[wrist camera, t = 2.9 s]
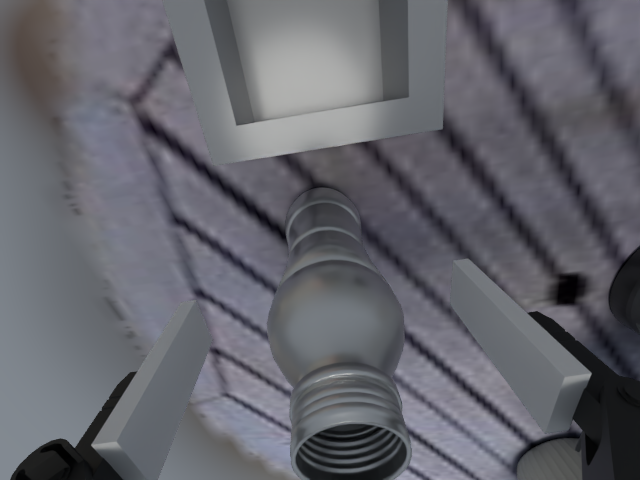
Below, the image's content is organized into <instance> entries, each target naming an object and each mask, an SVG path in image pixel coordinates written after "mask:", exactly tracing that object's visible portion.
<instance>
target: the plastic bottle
mask: <svg viewBox="0 0 640 480" xmlns="http://www.w3.org/2000/svg"><path fill="white" fill-rule="evenodd" d="M285 230H286V237H287V241H288V245H289V256H288V261H287V265H286V269H285V272H284V275H283V277H282V280H281V282H280V284H279V287H278V289H277V292H276V294H275V296H274V299H273V301H272V305H271V308H270V312H269V316H268V321H267V331H268V338H269V343H270V348H271V352H272V355H273V358H274V360H275V362H276V364H277V365H278V367H279V369H280V370H281V372H282V373H283V375H284V376H285V378H286V380H287V381H288V382H289V384H290V385H291V386H292V387H293V388H294V389H293V391H292V394H291V398H290V420H291V423H292V429H291V445H290V457H291V465H292V468H293V471H294V472H295V473H296V475H297V476H298V477H299V478H300V479H301V480H394V479H395V478H397V477H398V476H399V475H400V474H401V473H402V472H403V471H404V470H405V469H406V468H407V466H408V465H409V463H410V460H411V457H412V449H411V441H410V438H409V435H408V432H407V428H406V425H405V422H404V418H403V415H402V402H401V399H400V395H399V392H398V389H397V387H396V384H395V383H394V381H393V380H392V376H393V374H394V372H395V370H396V368H397V365H398V363H399V360H400V357H401V354H402V351H403V346H404V342H405V337H404V315H403V312H402V308H401V305H400V303H399V301H398V300H397V298H396V296H395V295H394V293H393V291H392V289H391V288H390V286H389V284H388V283H387V282H386V280H385V279H384V278H383V276H382V275H381V274H380V272H379V271H378V270H377V268H376V267H375V266H374V264H373V263H372V262H371V260H370V258H369V256H368V254H367V252H366V250H365V248H364V246H363V242H362V237H361V234H362V230H361V221H360V216H359V213H358V211H357V209H356V207H355V205H354V204H353V203H352V202H351V201H350V199H348V198H347V197H346V196H344V195H343V194H342V193H340V192H338V191H336V190H334V189H330V188H323V187H320V188H313V189H311V190H308V191H306V192H304V193H303V194H301V195H300V196H299V197H298V198H297V199H296V200H295V201H294V203H293V204H292V206H291V207H290V209H289V211H288V213H287V216H286V221H285Z"/></svg>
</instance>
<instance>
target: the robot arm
mask: <svg viewBox="0 0 640 480" xmlns="http://www.w3.org/2000/svg"><path fill="white" fill-rule="evenodd" d="M450 305H451V307H452V308H453V309H454V311H455V312H456V313H457V315H458V316H459V318H460V319H461V320H462V322H463V323H464V324H465V326H466V327H467V328H468V330H469V331H470V332H471V334H472V335H473V337H474V338H475V339H476V341H477V342H478V343H479V345H480V346H481V347H482V349H483V350H484V352H485V353H486V354H487V356H488V357H489V358H490V360H491V361H492V362H493V364H494V365H495V367H496V368H497V369H498V371H499V372H500V373H501V375H502V376H503V377H504V379H505V380H506V381H507V383H508V384H509V386H510V387H511V388H512V390H513V391H514V392H515V394H516V395H517V396H518V398H519V399H520V401H521V402H522V403H523V405H524V406H525V407H526V409H527V410H528V411H529V413H530V414H531V416H532V417H533V418H534V420H535V421H536V422H537V424H538V425H539V426H540V428H541V429H542V431H543V432H544V433H545V434H547V433H554V432H562V431H568V430H569V428H570V425H571V423H572V421H573V419H574V421H575V422H576V423H577V424H578V425H579V426H580V428H581V429H582V430H583V431H582V433H581V436H580V438H579V440H578V442H577V444H576V448H575V451H577V452H580V450H581V457H582V480H640V382H639V381H637V380H634V379H631V378H627V377H622V376H619V375H617V374H616V373H615V372H614V371H612V370H611V369H610V368H609V367H608V366H607V365H605V364H604V363H603V362H602V361H601V360H600V359H598V358H597V357H596V356H595V355H594V354H593V353H591V352H590V351H589V350H588V349H587V348H586V347H584V346H583V345H582V344H581V343H580V342H579V341H576V340H575V338H574V337H573V336H572V335H570V334H569V333H568V332H565V329H563V328H562V327H561V326H560V325H559V324H558V323H556V322H555V321H554V320H553V319H551V318H549V317H547V316H545V315H543V314H541V313H540V312H538V311H536V312H529V313H526V312H525V311H524V310H523V309H522V308H521V307H520V306H519V305H518V304H517V303H516V302H514V301H513V300H512V299H511V298H510V297H509V296H508V295H507V294H506V293H505V292H504V291H503V290H502V289H500V288H499V287H498V286H497V285H496V284H495V283H494V282H493V281H492V280H491V279H490V278H489V277H488V276H486V275H485V274H484V273H483V272H482V271H481V270H480V269H479V268H478V267H477V266H476V265H475V264H474V263H472V262H471V261H470V260H469V259H461V260H455V261H453V266H452V280H451V294H450ZM610 306H611V310H612V312H613V314H614V316H615V317H616V318H617V319H618V320H619V321H620V322H621V323H623V324H624V325H626V326H627V327H629V328H630V329H632V330H633V331H635V332H636V333H638V334H639V335H640V249H639V250H638V251H637V252H636V253H635V254H634V255H633V256H632V257H631V258H630V259H629V260H628V261H627V263H626V264H625V265H624V266H623V268H622V269H621V271H620V272H619V274H618V276H617V278H616V280H615V282H614V284H613V287H612V290H611V294H610ZM212 341H213V339H212V336H211V334H210V332H209V329H208V327H207V325H206V322H205V320H204V318H203V315H202V313H201V311H200V308H199V306H198V304H197V301H196V300H193V301H187V302H181V303H180V305H179V307H178V308H177V310H176V311H175V313H174V315H173V316H172V318H171V319H170V321H169V322H168V324H167V326H166V327H165V329H164V330H163V332H162V334H161V335H160V337H159V338H158V340H157V341H156V343H155V345H154V346H153V348H152V349H151V351H150V353H149V354H148V356H147V357H146V359H145V360H144V362H143V364H142V365H141V367H140V368H139V370H138V371H137V372H130V373H129V374H128V375H127V376H126V377H125V378H124V379H123V380H122V381H121V382H120V383H119V384H118V385H117V386H116V388H115V389H114V391H113V392H112V394H111V395H110V397H109V400H107V401H106V403H105V404H104V406H103V407H102V411H100V412H99V413H98V415H97V416H96V418H95V419H94V421H93V422H92V423H91V425H90V426H89V428H88V429H87V431H86V432H85V434H84V435H83V437H82V438H81V440H80V441H79V443H78V444H77V446H76V447H75V448H74V447H73V446H72V445H71V444H70V443H69V442H68V441H67V440H65V439H56V440H53V441H50V442H48V443H46V444H44V445H42V446H41V447H39V448H38V449H36V450H35V451H34V452H32V453H31V454H30V455H29V456H28V457H27V458H26V459H25V460H24V461H23V462H22V463H21V464H20V465H19V466H18V468H17V469H16V471H15V472H14V473H13V475H12V477H11V479H10V480H158V478H159V475H160V473H161V470H162V467H163V465H164V462H165V460H166V458H167V455H168V452H169V450H170V447H171V445H172V442H173V440H174V437H175V434H176V432H177V430H178V427H179V424H180V422H181V419H182V417H183V414H184V412H185V409H186V407H187V404H188V402H189V399H190V397H191V394H192V392H193V389H194V386H195V384H196V381H197V379H198V376H199V374H200V371H201V369H202V366H203V364H204V361H205V359H206V356H207V354H208V351H209V348H210V346H211V343H212Z"/></svg>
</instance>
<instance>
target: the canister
mask: <svg viewBox="0 0 640 480" xmlns="http://www.w3.org/2000/svg"><path fill="white" fill-rule="evenodd" d="M578 440H579V439H578V438H563V439H556V440H551V441H547V442H545V443H542V444H540V445H537V446H536V447H534V448H532V449H531V450H530V451H528V452H527V453H526V454H524V455H523V457H522V458H521V459H520V461H519V462H518V465H517V478H518V480H582V457H581V450H580V452H577V451H575V448H576V444H577V442H578Z"/></svg>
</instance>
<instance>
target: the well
mask: <svg viewBox="0 0 640 480" xmlns="http://www.w3.org/2000/svg"><path fill="white" fill-rule="evenodd" d="M162 1H163V4H164V8H165V11H166V14H167V17H168V21H169V24H170V27H171V30H172V34H173V37H174V40H175V43H176V46H177V50H178V53H179V56H180V59H181V63H182V66H183V69H184V72H185V76H186V79H187V82H188V85H189V89H190V92H191V95H192V98H193V102H194V105H195V108H196V111H197V114H198V118H199V121H200V124H201V127H202V131H203V134H204V137H205V140H206V144H207V147H208V150H209V153H210V157H211V160H212V163H213V166H216V165H222V164H228V163H235V162H241V161H247V160H253V159H260V158H266V157H272V156H278V155H285V154H291V153H297V152H303V151H309V150H316V149H322V148H328V147H334V146H341V145H347V144H353V143H359V142H366V141H372V140H378V139H384V138H390V137H397V136H403V135H409V134H415V133H422V132H428V131H434V130H440V129H443V109H444V83H445V57H446V31H447V5H448V0H162Z"/></svg>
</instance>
